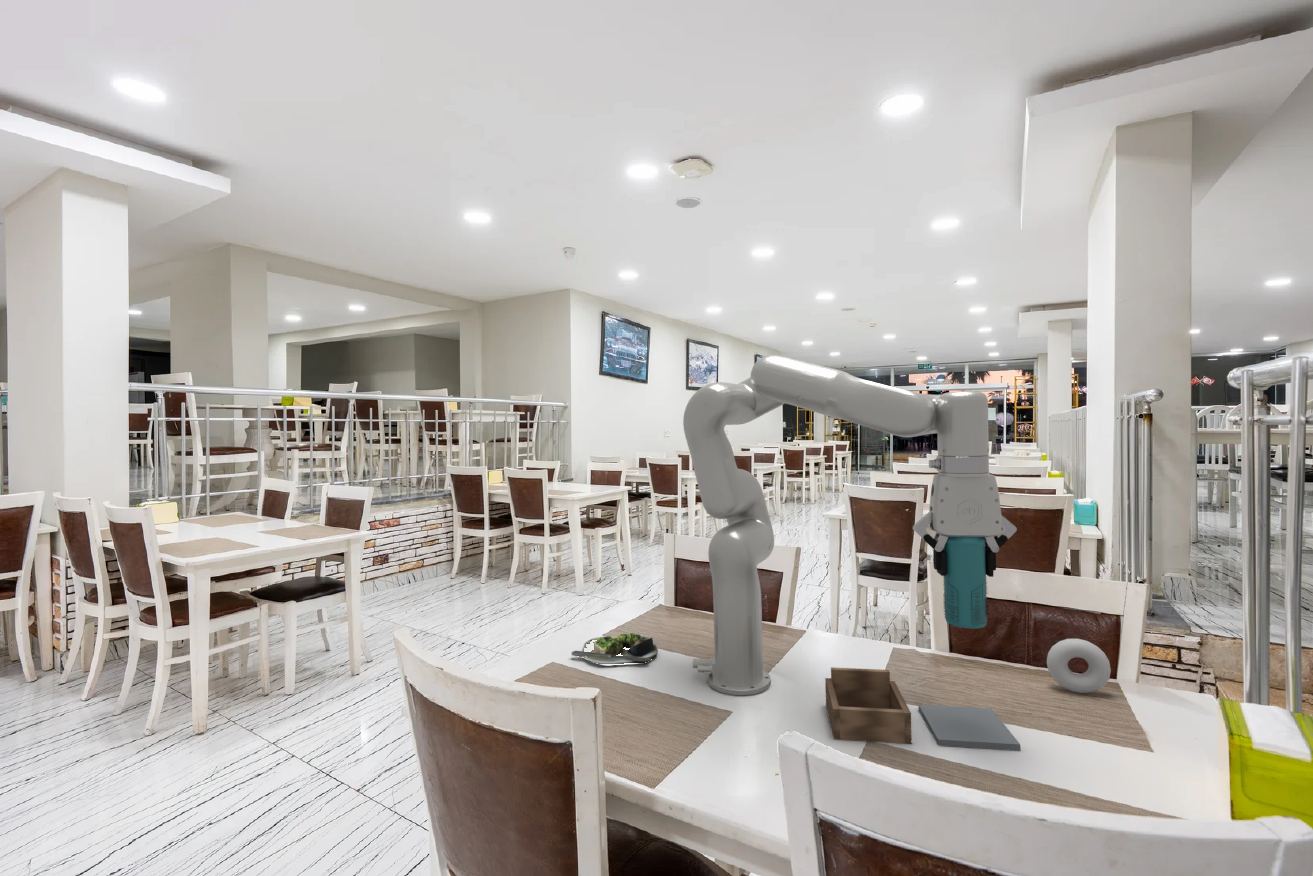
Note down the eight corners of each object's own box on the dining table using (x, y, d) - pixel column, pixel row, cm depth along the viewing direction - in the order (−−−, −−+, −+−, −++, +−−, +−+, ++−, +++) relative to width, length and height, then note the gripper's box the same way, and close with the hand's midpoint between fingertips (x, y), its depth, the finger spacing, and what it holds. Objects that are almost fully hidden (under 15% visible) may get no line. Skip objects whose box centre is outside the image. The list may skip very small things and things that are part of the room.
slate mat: (938, 745, 96) (938, 739, 96) (918, 710, 108) (918, 704, 107) (1020, 750, 94) (1020, 744, 94) (991, 714, 105) (991, 708, 105)
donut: (1108, 692, 113) (1108, 639, 112) (1113, 700, 109) (1113, 645, 109) (1045, 684, 117) (1044, 632, 117) (1048, 691, 114) (1047, 638, 113)
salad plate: (572, 675, 127) (571, 654, 127) (570, 645, 144) (570, 626, 144) (662, 667, 130) (662, 646, 130) (650, 639, 147) (650, 620, 147)
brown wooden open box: (833, 739, 98) (833, 696, 98) (825, 705, 110) (825, 667, 110) (911, 744, 96) (910, 700, 96) (894, 708, 108) (894, 670, 108)
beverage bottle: (993, 639, 96) (992, 514, 96) (949, 637, 98) (947, 514, 97) (980, 625, 103) (979, 508, 102) (938, 624, 104) (937, 508, 104)
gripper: (913, 468, 97) (914, 579, 98) (1030, 467, 94) (1031, 581, 95) (902, 465, 105) (903, 568, 105) (1010, 464, 102) (1011, 569, 102)
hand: (964, 573), depth 100 cm, fingers closed on beverage bottle, 6 cm apart
